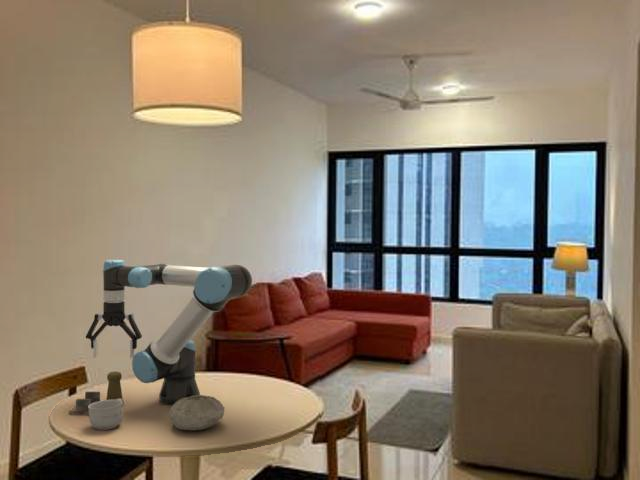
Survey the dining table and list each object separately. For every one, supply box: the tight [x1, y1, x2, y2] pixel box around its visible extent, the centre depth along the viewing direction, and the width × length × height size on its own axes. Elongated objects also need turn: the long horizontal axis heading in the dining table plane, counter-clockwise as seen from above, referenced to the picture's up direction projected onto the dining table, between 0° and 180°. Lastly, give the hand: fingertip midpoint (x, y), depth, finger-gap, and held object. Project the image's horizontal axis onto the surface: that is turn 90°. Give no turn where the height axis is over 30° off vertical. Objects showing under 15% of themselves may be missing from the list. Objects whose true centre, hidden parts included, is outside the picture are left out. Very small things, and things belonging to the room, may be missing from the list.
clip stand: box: [68, 391, 101, 415], centre depth 224 cm, size 10×10×5 cm
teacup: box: [88, 399, 125, 431], centre depth 208 cm, size 14×11×8 cm
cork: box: [105, 371, 124, 400], centre depth 235 cm, size 6×6×11 cm
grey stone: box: [169, 394, 225, 432], centre depth 208 cm, size 18×18×10 cm
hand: (113, 357), depth 235 cm, fingers open, 13 cm apart
